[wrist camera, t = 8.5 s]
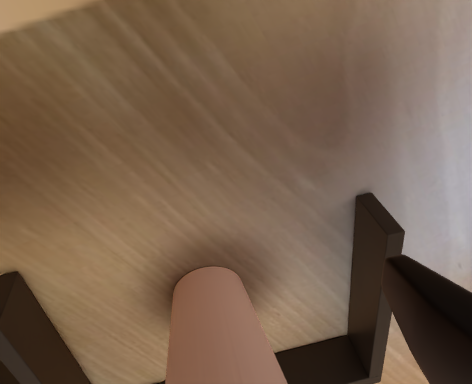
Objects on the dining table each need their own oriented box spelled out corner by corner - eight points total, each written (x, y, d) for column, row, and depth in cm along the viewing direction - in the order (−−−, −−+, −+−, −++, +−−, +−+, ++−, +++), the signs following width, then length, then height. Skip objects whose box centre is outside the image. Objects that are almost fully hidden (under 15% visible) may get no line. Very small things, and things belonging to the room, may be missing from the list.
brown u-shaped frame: (-1, 275, 17) (-25, 331, 15) (371, 192, 19) (405, 231, 16) (91, 407, 24) (84, 461, 22) (358, 339, 26) (380, 382, 23)
